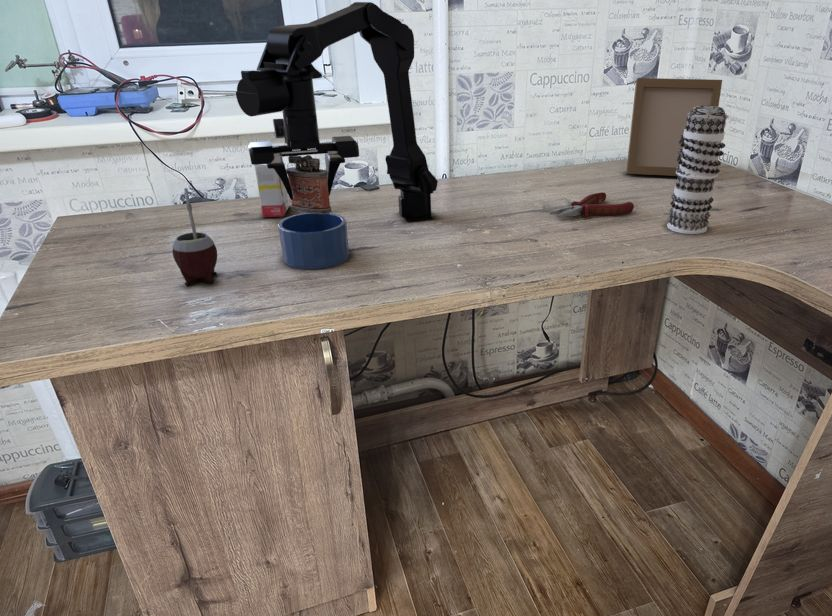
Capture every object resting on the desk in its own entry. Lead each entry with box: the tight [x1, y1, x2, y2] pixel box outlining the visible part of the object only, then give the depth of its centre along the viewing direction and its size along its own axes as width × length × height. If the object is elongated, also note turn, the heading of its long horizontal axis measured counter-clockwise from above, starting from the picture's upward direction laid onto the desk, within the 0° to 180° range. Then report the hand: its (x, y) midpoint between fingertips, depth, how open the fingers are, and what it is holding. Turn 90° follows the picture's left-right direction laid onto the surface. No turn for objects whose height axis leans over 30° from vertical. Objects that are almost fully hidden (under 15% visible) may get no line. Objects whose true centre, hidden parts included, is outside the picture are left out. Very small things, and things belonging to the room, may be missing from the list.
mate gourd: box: [172, 187, 218, 287], centre depth 108 cm, size 8×8×15 cm
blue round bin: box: [277, 212, 350, 270], centre depth 120 cm, size 12×12×7 cm
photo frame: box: [625, 77, 723, 177], centre depth 174 cm, size 15×22×25 cm
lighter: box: [286, 155, 333, 214], centre depth 115 cm, size 8×3×10 cm, turn 71°
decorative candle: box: [666, 105, 729, 235], centre depth 131 cm, size 9×9×25 cm
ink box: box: [254, 157, 290, 218], centre depth 143 cm, size 9×5×12 cm, turn 5°
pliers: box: [548, 191, 635, 218], centre depth 146 cm, size 12×20×3 cm, turn 122°
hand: (310, 197), depth 116 cm, fingers closed on lighter, 6 cm apart
